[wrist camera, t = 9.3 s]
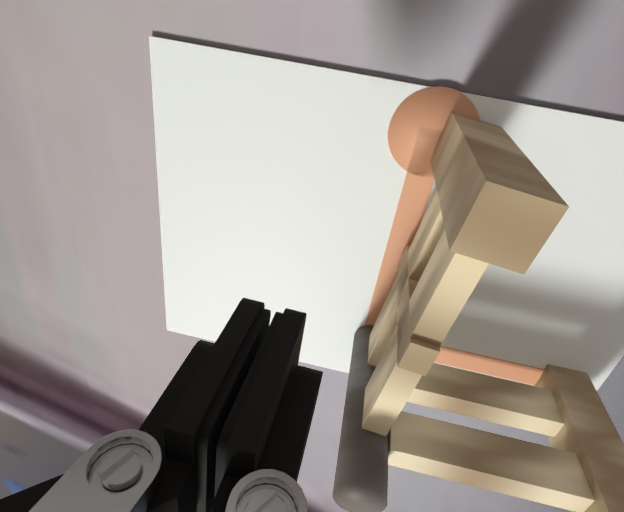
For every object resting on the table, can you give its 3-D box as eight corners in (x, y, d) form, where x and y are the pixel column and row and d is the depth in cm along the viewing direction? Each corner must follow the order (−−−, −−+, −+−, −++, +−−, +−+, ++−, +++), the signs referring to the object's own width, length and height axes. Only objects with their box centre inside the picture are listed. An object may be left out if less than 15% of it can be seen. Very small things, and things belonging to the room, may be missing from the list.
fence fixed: (585, 370, 22) (687, 567, 14) (567, 395, 23) (652, 591, 15) (358, 318, 23) (337, 477, 15) (351, 345, 24) (328, 506, 16)
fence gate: (398, 331, 22) (398, 463, 16) (361, 319, 22) (346, 447, 16) (501, 126, 16) (569, 206, 10) (451, 111, 16) (485, 180, 10)
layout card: (776, 146, 15) (782, 148, 15) (569, 422, 24) (570, 426, 23) (151, 32, 17) (147, 33, 17) (168, 327, 25) (166, 330, 25)
